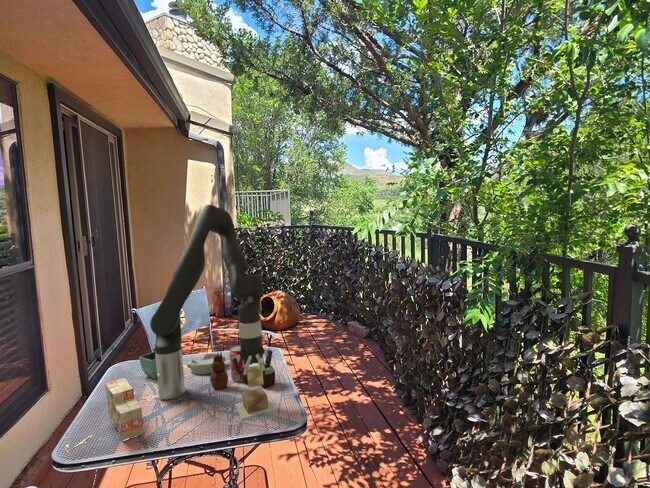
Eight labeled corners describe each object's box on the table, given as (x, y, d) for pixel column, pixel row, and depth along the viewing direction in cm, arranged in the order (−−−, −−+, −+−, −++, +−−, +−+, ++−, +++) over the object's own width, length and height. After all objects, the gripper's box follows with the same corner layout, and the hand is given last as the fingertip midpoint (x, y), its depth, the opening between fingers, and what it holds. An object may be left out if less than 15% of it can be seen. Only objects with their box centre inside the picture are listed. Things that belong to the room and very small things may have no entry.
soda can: (247, 382, 162) (244, 350, 161) (229, 383, 162) (226, 351, 161) (250, 375, 169) (248, 344, 168) (233, 375, 169) (231, 345, 168)
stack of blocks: (144, 435, 128) (140, 397, 127) (122, 443, 124) (118, 404, 123) (128, 410, 145) (124, 377, 143) (108, 416, 141) (104, 382, 140)
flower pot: (171, 373, 175) (169, 353, 175) (153, 381, 168) (151, 360, 167) (158, 369, 180) (156, 350, 179) (140, 377, 173) (138, 357, 172)
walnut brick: (247, 413, 135) (246, 400, 135) (243, 404, 142) (242, 392, 141) (268, 408, 138) (267, 395, 138) (262, 399, 144) (261, 387, 144)
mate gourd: (272, 392, 152) (270, 353, 151) (252, 391, 154) (250, 352, 153) (278, 383, 160) (276, 346, 158) (259, 382, 161) (256, 346, 160)
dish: (184, 374, 174) (183, 363, 173) (203, 362, 187) (202, 351, 186) (214, 377, 169) (213, 365, 169) (231, 364, 183) (230, 353, 182)
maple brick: (249, 387, 136) (247, 373, 136) (245, 382, 141) (244, 368, 140) (263, 384, 138) (262, 370, 138) (259, 378, 143) (258, 365, 142)
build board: (242, 421, 133) (241, 418, 132) (234, 407, 143) (234, 404, 142) (277, 412, 137) (277, 409, 137) (268, 398, 147) (267, 396, 147)
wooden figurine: (231, 388, 157) (228, 350, 156) (218, 394, 153) (215, 355, 152) (221, 384, 162) (218, 347, 161) (208, 389, 158) (205, 351, 156)
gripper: (231, 341, 131) (235, 391, 133) (274, 332, 137) (277, 381, 139) (226, 334, 138) (231, 383, 140) (267, 327, 144) (271, 373, 146)
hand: (254, 382), depth 139 cm, fingers closed on maple brick, 5 cm apart
